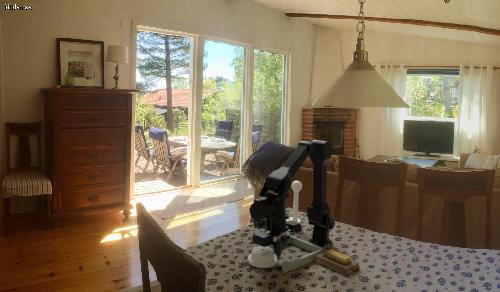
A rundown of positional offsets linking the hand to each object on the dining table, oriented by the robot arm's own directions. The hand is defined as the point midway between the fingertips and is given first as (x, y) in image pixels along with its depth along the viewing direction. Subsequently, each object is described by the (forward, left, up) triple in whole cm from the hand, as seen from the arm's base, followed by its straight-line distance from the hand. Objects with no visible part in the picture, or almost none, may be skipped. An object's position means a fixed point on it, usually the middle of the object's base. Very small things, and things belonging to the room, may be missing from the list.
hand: (278, 256), depth 134 cm
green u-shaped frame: (-6, -1, -2) cm, 6 cm away
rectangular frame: (-14, +14, -2) cm, 20 cm away
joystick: (-29, -20, -2) cm, 35 cm away
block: (-14, +14, -2) cm, 20 cm away
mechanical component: (+4, -3, -2) cm, 6 cm away
